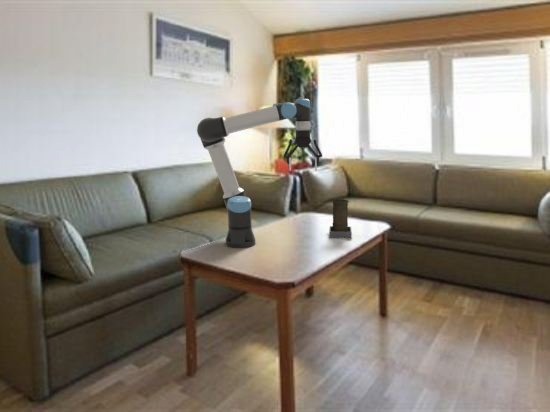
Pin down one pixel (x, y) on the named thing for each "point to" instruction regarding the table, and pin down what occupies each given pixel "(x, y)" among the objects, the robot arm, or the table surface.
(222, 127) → the robot arm
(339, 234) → the tray
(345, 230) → the container
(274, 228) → the table surface
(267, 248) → the table surface
